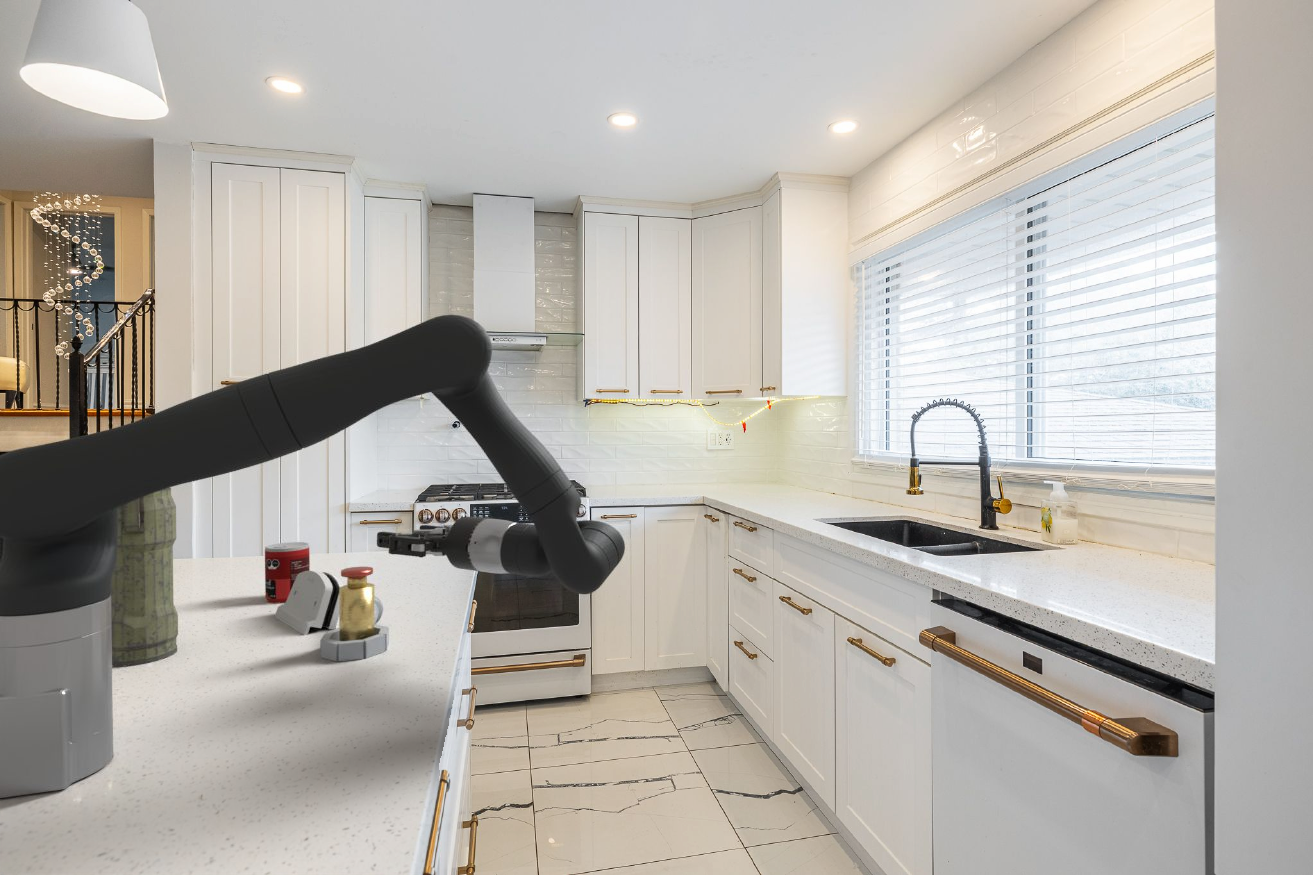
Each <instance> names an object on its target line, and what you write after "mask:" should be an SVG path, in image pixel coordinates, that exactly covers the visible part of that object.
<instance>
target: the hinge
mask: <svg viewBox="0 0 1313 875" xmlns="http://www.w3.org/2000/svg"><path fill="white" fill-rule="evenodd" d="M342 586H344V583H343V582H342V581H341V579H339V578H338V577H337V576H335V575H333V574H332V573H329V572H325V571H320V570H310V571H304V572H301V573H299V574H298V575H297V577H296V579H295V582H294V584H293V587H292V589H291V591H290V594H289V596H288V599H287V601H286V603H282V604H281V605H278V607H277V609H276V611H275V614H274V618H276V619H278V620H280V621H281V622H282V623H284V624H285V625H287V626H289V627H290V628H291V629H294V630H295V631H296V632H298V633H300V634H301V635H303V636H308V634H309V631H310V628H318V629H322V627H323V628H327V629H329V630H335V629H337V624H338V621H339V588H340V587H342Z"/></svg>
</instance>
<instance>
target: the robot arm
mask: <svg viewBox="0 0 1313 875" xmlns="http://www.w3.org/2000/svg"><path fill="white" fill-rule="evenodd" d="M492 347H493V346H492V341H491V338H490V334H488V332H487V330H486V329H485V328H484V327H483V326H482V325H481V324H480V323H479V322H477V321H475V320H474V319H472V318H470V317H468V316H467V317H466V316H463V315H458V314H443V315H439V316H438V315H437V316H435V317H431V318H430V319H427V320H425V321H423V322H420V323H418V324H416V325H414V326H411V327H409V328H406V329H404V330H402V331H400V332H397V333H395V334H393V335H390V336H388V337H386V338H383V339H381V340H379V341H377V342H376V341H375V342H374V343H371V344H369V345H368V344H367V345H364V346H362V347H359V348H355V349H352V350H349V351H348V350H347V351H344V352H340V353H336V354H332V355H331V354H330V355H328V356H324V357H320V358H317V359H313V360H309V361H307V362H304V363H299V364H296V365H293V366H288V367H285V368H282V369H278V370H277V369H276V370H274V371H271V372H270V371H269V372H268V373H263V374H261V375H258V376H257V375H256V376H254V377H252V378H247V379H245V380H242V381H239V382H235V383H231V384H230V385H227V386H224V387H221V388H219V389H216V390H213V391H209V392H207V393H205V394H200V395H198V396H196V397H193V398H190V399H188V400H186V401H183V402H180V403H178V404H175V405H172V406H170V407H168V408H165V409H163V410H161V411H158V412H156V413H153V414H151V415H149V416H146V417H144V418H141V419H138V420H136V421H132V422H130V423H126V424H123V425H120V426H117V427H112V428H109V429H106V430H101V431H97V432H94V433H90V434H85V435H80V436H77V437H72V438H67V439H64V440H58V441H53V442H48V443H44V444H39V445H34V446H27V447H23V448H17V449H13V450H11V451H7V452H5V453H2V454H1V455H0V538H2V539H3V540H2V541H3V545H2V548H3V549H2V554H1V559H0V799H3V798H9V797H11V798H12V797H17V796H25V795H32V794H38V793H45V792H52V791H53V792H54V791H60V790H65V789H67V788H68V787H69V786H70V785H72V784H73V783H75V782H77V781H79V780H81V779H83V778H86V777H89V776H91V775H92V774H94V773H96V772H98V771H99V770H101V769H103V768H104V767H105V766H107V765H108V764H109V763H110V762H111V761H112V759H113V758H114V717H113V716H114V715H113V713H114V712H113V711H114V710H113V703H114V702H113V666H112V632H111V623H112V620H111V580H112V575H113V572H114V569H115V565H116V560H117V545H118V507H120V506H123V505H125V504H127V503H129V502H132V501H134V500H137V499H139V498H141V497H144V496H146V495H149V494H152V493H154V492H157V491H160V490H163V489H166V488H169V487H170V488H172V487H176V486H180V485H183V484H187V483H192V482H197V481H201V480H205V479H209V478H210V479H211V478H214V477H218V476H221V475H225V474H229V473H233V472H236V471H241V470H244V469H247V468H251V467H254V466H257V465H261V464H263V463H264V464H265V463H268V462H270V461H273V460H275V459H276V460H277V459H279V458H281V457H284V456H287V455H290V454H293V453H295V452H298V451H301V450H303V449H306V448H309V447H311V446H314V445H315V444H318V443H321V442H324V440H326V439H329V438H331V437H334V436H335V435H336V434H338V433H340V432H342V431H343V430H346V429H348V428H349V427H351V426H353V425H355V424H356V423H358V422H360V421H362V420H363V419H365V418H367V417H369V416H370V415H372V414H373V413H375V412H377V411H379V410H381V409H384V408H385V407H388V406H390V405H393V404H395V403H398V402H401V401H404V400H408V399H411V398H415V397H418V396H422V395H425V394H430V393H431V394H432V396H434V397H435V398H436V399H437V400H438V401H439V402H440V403H441V404H442V405H444V407H445V408H446V409H447V410H448V411H449V412H450V413H451V414H452V415H453V416H454V417H455V419H457V421H459V423H460V424H461V425H462V426H463V427H464V429H466V431H467V432H468V433H469V434H470V436H471V437H472V438H473V439H474V440H475V442H476V443H477V445H479V448H481V450H482V452H484V455H486V457H487V458H488V460H489V461H490V463H491V464H492V466H493V467H494V469H495V470H496V471H497V473H498V474H499V475H500V478H501V479H502V480H503V482H504V483H505V485H506V486H507V488H508V489H509V491H510V492H511V494H512V495H513V497H514V498H515V499H516V502H518V504H519V505H520V506H521V508H522V509H523V510H524V511H523V512H525V513H526V515H527V516H528V517H529V519H530V520H531V521H532V523H533V524H532V523H521V522H520V523H519V522H515V521H510V520H508V519H506V520H505V519H498V518H487V517H477V516H462V517H460V518H458V519H457V520H456V521H454V523H453V524H443V525H441V526H439V525H429V524H422V525H420V526H419V529H415V530H413V532H390V531H378V532H377V534H376V546H377V547H378V548H383V549H388V554H389V555H398V556H406V557H408V556H409V557H415V558H416V557H418V558H424V557H427V555H432V556H434V557H444V556H446V558H447V560H448V561H449V563H450V564H451V566H453V567H454V568H456V569H459V570H466V571H467V570H468V571H476V572H483V573H489V574H500V575H501V574H502V575H503V574H512V575H519V576H527V577H542V576H543V577H544V576H546V575H548V574H550V573H551V572H552V573H553V574H554V576H555V578H556V579H557V581H559V583H561V585H562V586H563V587H565V588H566V589H567V590H569V591H570V592H572V593H575V594H577V595H578V594H579V595H590V594H592V593H595V592H596V591H597V590H598V589H599V588H600V587H601V586H602V585H603V584H604V583H605V581H606V580H607V579H608V578H609V576H610V575H611V574H612V572H613V571H614V570H615V569H616V568H617V566H619V564H620V562H622V559H623V557H624V555H625V550H626V546H625V545H626V544H625V540H624V538H623V536H622V534H621V533H620V532H619V530H617V529H616V528H615V527H614V526H613V525H610V524H609V523H606V522H603V521H600V520H599V521H598V520H591V519H585V520H577V517H578V516H577V515H578V513H579V511H580V508H581V505H582V498H581V496H580V494H579V492H578V490H577V489H576V487H575V486H574V484H573V483H572V481H571V480H570V479H569V477H568V475H567V474H566V473H565V472H564V470H563V469H562V468H561V465H560V464H559V463H558V462H557V460H556V459H555V457H554V456H553V455H552V453H550V451H549V450H548V449H547V448H546V446H544V445H543V443H542V442H541V441H540V440H539V439H538V438H537V437H536V436H535V435H534V434H533V433H532V432H531V431H530V430H529V429H528V428H527V427H526V426H525V425H524V424H523V423H522V422H521V421H520V420H519V418H518V417H516V415H515V414H514V412H513V411H512V410H511V409H510V408H509V406H508V405H507V403H506V402H505V400H504V398H503V397H502V395H501V393H500V392H499V390H498V389H497V387H496V385H495V383H494V381H493V379H492V378H491V375H490V372H489V371H488V369H489V367H490V364H491V361H492V354H493V353H492V352H493V348H492Z"/></svg>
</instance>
